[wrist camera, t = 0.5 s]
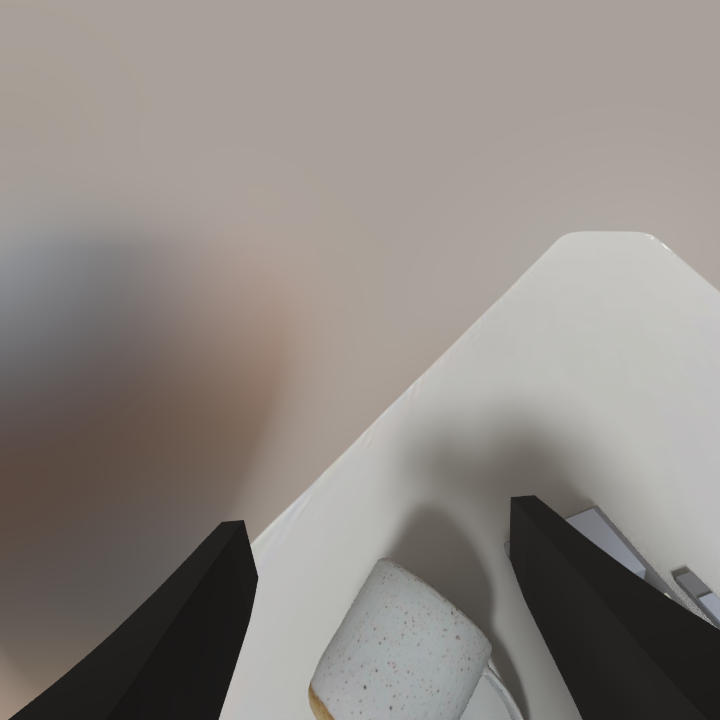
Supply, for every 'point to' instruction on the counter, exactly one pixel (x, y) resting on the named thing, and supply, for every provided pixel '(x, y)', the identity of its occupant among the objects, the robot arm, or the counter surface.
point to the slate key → (606, 539)
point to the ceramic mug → (402, 655)
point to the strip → (701, 596)
